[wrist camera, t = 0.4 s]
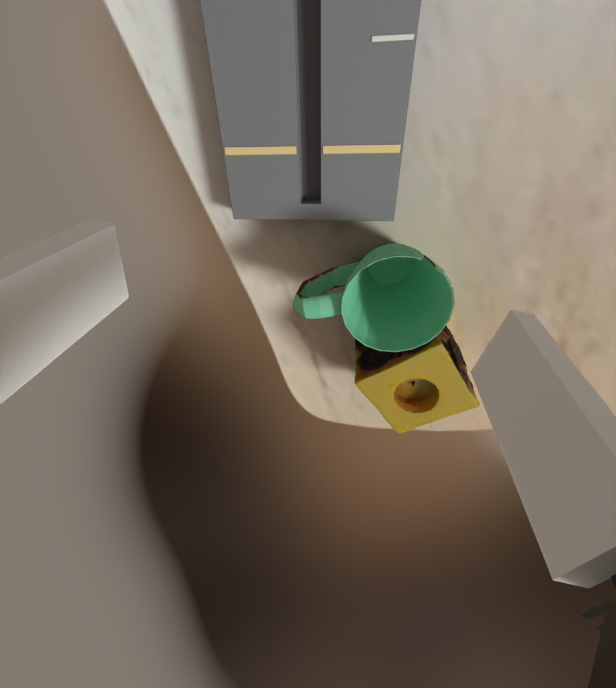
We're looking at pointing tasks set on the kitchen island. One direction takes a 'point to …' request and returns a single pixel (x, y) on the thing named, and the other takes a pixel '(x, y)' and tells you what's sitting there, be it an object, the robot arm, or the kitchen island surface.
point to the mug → (383, 298)
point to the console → (312, 104)
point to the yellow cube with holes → (416, 382)
